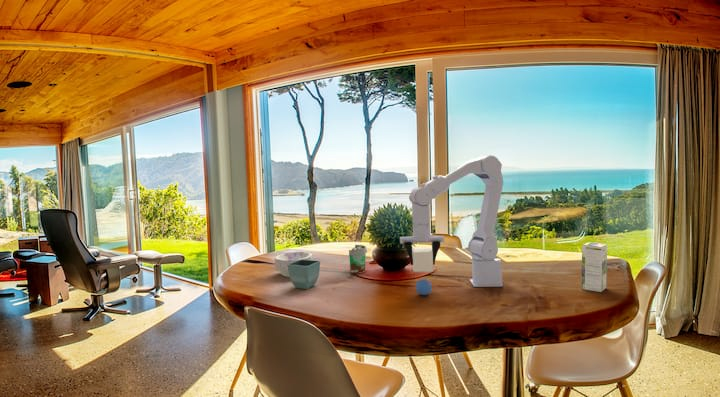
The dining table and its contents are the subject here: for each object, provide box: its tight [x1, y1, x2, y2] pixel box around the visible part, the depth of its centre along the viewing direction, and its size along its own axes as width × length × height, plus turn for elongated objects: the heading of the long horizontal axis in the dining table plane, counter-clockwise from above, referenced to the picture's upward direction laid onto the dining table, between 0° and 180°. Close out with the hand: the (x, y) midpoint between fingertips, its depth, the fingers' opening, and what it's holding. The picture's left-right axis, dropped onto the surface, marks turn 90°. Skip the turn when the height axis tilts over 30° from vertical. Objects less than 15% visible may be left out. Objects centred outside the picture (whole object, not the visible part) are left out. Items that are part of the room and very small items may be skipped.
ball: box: [415, 278, 432, 296], centre depth 122 cm, size 5×5×5 cm
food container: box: [348, 244, 368, 275], centre depth 155 cm, size 12×6×10 cm, turn 168°
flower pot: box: [288, 259, 321, 290], centre depth 136 cm, size 9×9×9 cm
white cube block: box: [412, 247, 434, 273], centre depth 126 cm, size 6×6×6 cm
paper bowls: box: [274, 251, 313, 278], centre depth 155 cm, size 15×15×8 cm
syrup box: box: [581, 241, 608, 293], centre depth 120 cm, size 6×6×14 cm
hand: (422, 264), depth 126 cm, fingers closed on white cube block, 6 cm apart
